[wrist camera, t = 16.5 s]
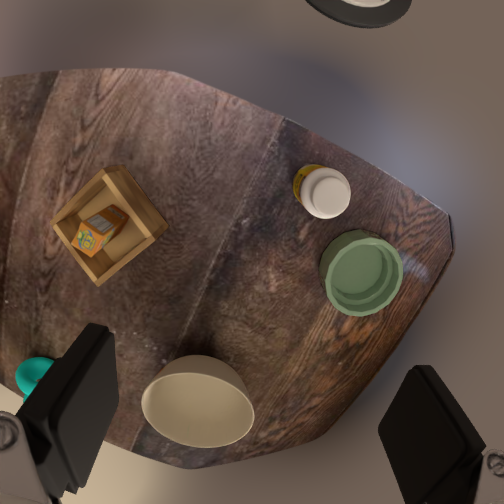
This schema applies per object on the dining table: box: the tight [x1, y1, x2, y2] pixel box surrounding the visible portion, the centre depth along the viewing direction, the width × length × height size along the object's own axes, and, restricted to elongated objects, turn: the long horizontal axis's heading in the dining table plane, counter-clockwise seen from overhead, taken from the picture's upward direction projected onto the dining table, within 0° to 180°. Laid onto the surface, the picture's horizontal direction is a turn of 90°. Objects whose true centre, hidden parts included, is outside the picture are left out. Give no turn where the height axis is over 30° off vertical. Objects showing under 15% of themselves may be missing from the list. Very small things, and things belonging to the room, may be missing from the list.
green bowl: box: [319, 229, 403, 316], centre depth 43 cm, size 11×11×4 cm
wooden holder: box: [50, 165, 169, 287], centre depth 39 cm, size 11×11×7 cm
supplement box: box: [71, 204, 129, 257], centre depth 36 cm, size 3×3×10 cm
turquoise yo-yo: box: [16, 357, 54, 403], centre depth 46 cm, size 10×10×10 cm
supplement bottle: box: [292, 164, 351, 219], centre depth 36 cm, size 6×6×10 cm
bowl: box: [141, 355, 254, 448], centre depth 45 cm, size 16×16×10 cm
